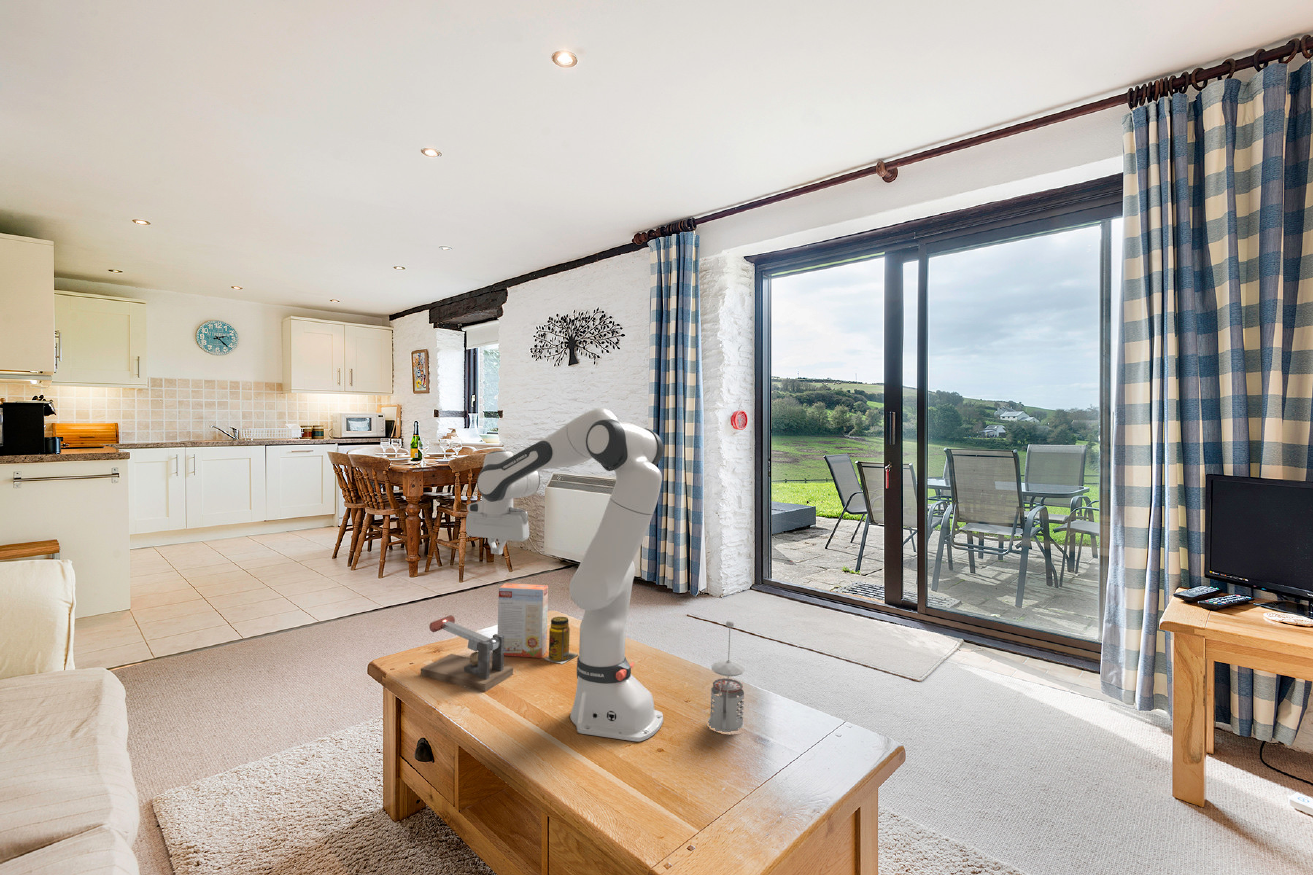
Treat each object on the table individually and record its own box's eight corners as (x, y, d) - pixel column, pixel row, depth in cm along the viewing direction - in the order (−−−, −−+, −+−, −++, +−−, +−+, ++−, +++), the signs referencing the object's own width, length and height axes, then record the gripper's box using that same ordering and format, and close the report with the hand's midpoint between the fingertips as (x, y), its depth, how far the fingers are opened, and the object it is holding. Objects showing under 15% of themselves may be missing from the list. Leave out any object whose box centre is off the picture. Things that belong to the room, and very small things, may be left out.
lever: (502, 651, 165) (504, 636, 165) (485, 660, 158) (488, 645, 158) (445, 627, 173) (448, 613, 172) (427, 635, 166) (430, 620, 166)
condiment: (542, 659, 178) (543, 619, 178) (559, 650, 186) (560, 612, 186) (562, 664, 175) (563, 624, 175) (578, 655, 182) (580, 616, 182)
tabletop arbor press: (512, 674, 167) (514, 633, 166) (484, 691, 156) (486, 648, 155) (451, 660, 175) (452, 621, 175) (420, 675, 164) (421, 634, 164)
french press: (749, 718, 146) (752, 617, 145) (743, 742, 135) (747, 632, 134) (709, 712, 148) (713, 612, 148) (700, 734, 137) (704, 627, 137)
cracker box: (547, 651, 184) (549, 584, 184) (541, 658, 178) (543, 589, 178) (503, 648, 186) (505, 581, 186) (496, 655, 180) (498, 586, 180)
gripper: (534, 507, 172) (533, 555, 172) (477, 502, 180) (476, 548, 180) (521, 510, 166) (520, 559, 166) (462, 505, 174) (461, 552, 174)
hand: (496, 553), depth 173 cm, fingers closed
